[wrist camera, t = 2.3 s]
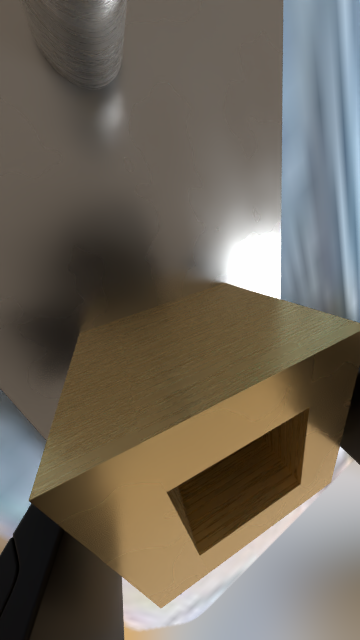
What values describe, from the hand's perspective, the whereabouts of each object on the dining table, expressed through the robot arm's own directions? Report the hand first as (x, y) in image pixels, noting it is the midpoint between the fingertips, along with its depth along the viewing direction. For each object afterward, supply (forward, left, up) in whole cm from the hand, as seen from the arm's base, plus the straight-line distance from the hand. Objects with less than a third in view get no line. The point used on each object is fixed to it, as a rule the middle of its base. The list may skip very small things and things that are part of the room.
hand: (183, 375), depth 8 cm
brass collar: (0, 0, -1) cm, 1 cm away
